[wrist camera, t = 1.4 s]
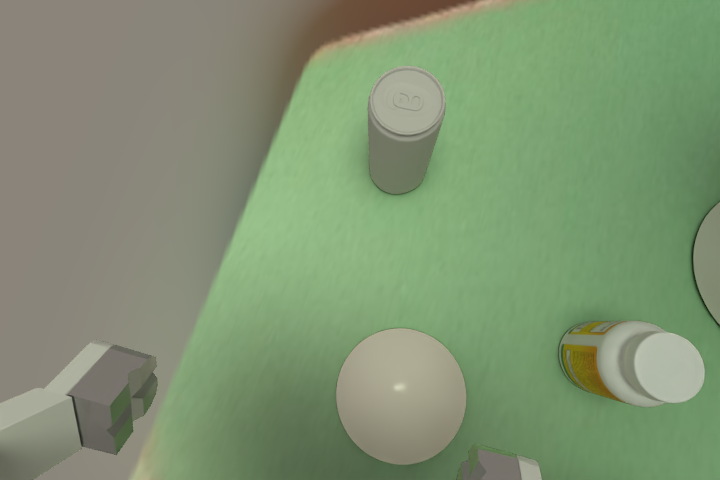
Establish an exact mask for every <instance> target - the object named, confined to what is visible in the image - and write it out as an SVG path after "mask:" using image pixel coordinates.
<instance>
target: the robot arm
mask: <svg viewBox="0 0 720 480" xmlns="http://www.w3.org/2000/svg"><path fill="white" fill-rule="evenodd" d="M693 262H694V272H695V278H696V282H697V285H698V288H699V291H700V294H701V296H702V298H703V300H704V302H705V304H706V306H707V308H708V310H709V311H710V313H711V314H712V316H713V317H714V318H715V320H716V321H717V322H718V324H719V325H720V202H719V203H718V204H717V205H716V206H715V207H714V208H713V209H712V210H711V211H710V212H709V213H708V215H707V216H706V217H705V219H704V221H703V222H702V224H701V226H700V228H699V231H698V234H697V237H696V240H695V245H694V256H693ZM156 367H157V365H156V357H154V356H151V355H147V354H144V353H141V352H137V351H134V350H131V349H128V348H124V347H121V346H118V345H114V344H111V343H107V342H104V341H100V340H95V341H93V342H91V343H89V344H88V345H87V346H86V347H85V348H84V349H83V350H82V351H81V352H80V353H79V354H78V355H77V356H76V357H75V358H74V359H73V360H72V361H71V362H70V363H69V364H68V365H67V366H66V367H65V368H64V369H63V370H62V371H61V372H60V373H59V374H58V375H57V376H56V377H55V378H54V379H53V380H52V381H51V382H50V383H49V384H48V385H47V386H46V387H45V388H44V389H42V388H35V389H33V390H31V391H28V392H26V393H24V394H21V395H19V396H17V397H14V398H12V399H9V400H7V401H4V402H2V403H0V480H34V479H35V478H37V477H38V476H40V475H41V474H43V473H44V472H46V471H48V470H49V469H51V468H52V467H54V466H55V465H57V464H59V463H60V462H62V461H63V460H65V459H66V458H68V457H70V456H71V455H73V454H74V453H76V452H77V451H79V450H81V449H82V447H87V448H91V449H94V450H98V451H102V452H106V453H110V454H114V455H117V454H118V452H119V451H120V449H121V448H122V447H123V445H124V443H125V442H126V441H127V439H128V438H129V437H130V435H131V434H132V432H133V421H134V420H136V419H138V418H140V417H142V416H144V415H145V413H146V412H147V410H148V409H149V407H150V406H151V404H152V402H153V399H154V397H155V395H156V391H157V386H158V384H157V377H156V376H155V375H154V374H153V371H154V369H155V368H156ZM456 480H542V477H541V473H540V468H539V464H538V463H537V461H536V460H533V459H530V458H526V457H522V456H518V455H514V454H513V453H509V452H505V451H502V450H498V449H494V448H490V447H486V446H482V445H478V444H474V445H472V446H471V448H470V449H469V451H468V460H467V461H465V462H463V463H462V464H461V466H460V468H459V470H458V474H457V478H456Z"/></svg>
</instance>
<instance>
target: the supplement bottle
mask: <svg viewBox="0 0 720 480" xmlns="http://www.w3.org/2000/svg"><path fill="white" fill-rule="evenodd" d="M559 359H560V363H561V367H562V369H563V371H564V373H565V375H566V376H567V378H568V379H569V380H570V381H571V382H572V383H573V384H574V385H576V386H577V387H579V388H581V389H582V390H585V391H588V392H591V393H594V394H597V395H600V396H604V397H607V398H611V399H614V400H617V401H621V402H624V403H628V404H631V405H635V406H640V407H655V406H659V405H662V404H664V403H681V402H685V401H687V400H689V399H691V398H693V397H694V396H695V395H696V394H697V393H698V392H699V391H700V389H701V387H702V385H703V382H704V378H705V368H704V363H703V359H702V357H701V355H700V353H699V352H698V350H697V349H696V348H695V346H694V345H693V344H692V343H690V342H689V341H688V340H687V339H685V338H684V337H682V336H680V335H677V334H674V333H670V332H666V331H665V330H663V329H662V328H660V327H658V326H656V325H654V324H651V323H648V322H643V321H600V322H585V323H581V324H578V325H576V326H574V327H572V328H571V329H570V330H569V331H568V332H567V333H566V334H565V335H564V337H563V338H562V341H561V343H560V347H559Z"/></svg>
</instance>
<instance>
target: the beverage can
mask: <svg viewBox="0 0 720 480" xmlns="http://www.w3.org/2000/svg"><path fill="white" fill-rule="evenodd" d="M445 106H446V103H445V95H444V90H443V88H442V86H441V84H440V82H439V81H438V80H437V79H436V78H435V77H434V75H433V74H431V73H429V72H428V71H426V70H424V69H421V68H418V67H415V66H401V67H396V68H393V69H391V70H389V71H387V72H386V73H384V74H383V75H382V76H380V77H379V79H378V80H377V81H376V82H375V84H374V86H373V88H372V91H371V94H370V96H369V101H368V136H369V170H370V175H371V177H372V180H373V182H374V183H375V184H376V185H377V186H378V187H379V188H380V189H382V190H383V191H385V192H388V193H391V194H401V193H406V192H409V191H411V190H414V189H415V188H416V187H418V186H419V185H420V183H421V182H422V181H423V179H424V176H425V173H426V170H427V167H428V164H429V161H430V158H431V155H432V152H433V149H434V146H435V143H436V140H437V136H438V133H439V130H440V127H441V124H442V121H443V118H444V115H445Z"/></svg>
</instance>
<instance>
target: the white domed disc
mask: <svg viewBox="0 0 720 480" xmlns="http://www.w3.org/2000/svg"><path fill="white" fill-rule="evenodd" d="M336 401H337V409H338V413H339V417H340V419H341V422H342V424H343V426H344V428H345V430H346V432H347V434H348V435H349V437H350V438H351V439H352V440H353V442H354V443H355V444H356V445H357V446H358V447H359V448H360V449H362V450H363V451H364V452H365V453H367V454H368V455H370V456H372V457H374V458H376V459H378V460H380V461H383V462H386V463H391V464H398V465H407V464H415V463H419V462H423V461H425V460H427V459H430V458H432V457H433V456H435V455H437V454H438V453H440V452H441V451H442V450H443V449H445V448H446V447H447V446H448V445H449V443H450V442H451V441H452V440H453V438H454V437H455V436H456V434H457V432H458V430H459V428H460V426H461V424H462V421H463V418H464V414H465V410H466V387H465V382H464V378H463V374H462V372H461V370H460V367H459V365H458V363H457V362H456V360H455V358H454V357H453V356H452V354H451V353H450V352H449V351H448V350H447V349H446V348H445V346H444V345H442V344H441V343H440V342H439V341H437V340H436V339H434V338H433V337H431V336H429V335H427V334H425V333H423V332H420V331H416V330H412V329H406V328H395V329H388V330H384V331H380V332H377V333H375V334H373V335H371V336H369V337H367V338H366V339H364V340H363V341H362V342H360V343H359V344H358V345H357V346H356V347H355V348H354V349H353V350H352V351H351V353H350V354H349V355H348V357H347V358H346V360H345V362H344V364H343V366H342V368H341V370H340V374H339V377H338V381H337V388H336Z"/></svg>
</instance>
